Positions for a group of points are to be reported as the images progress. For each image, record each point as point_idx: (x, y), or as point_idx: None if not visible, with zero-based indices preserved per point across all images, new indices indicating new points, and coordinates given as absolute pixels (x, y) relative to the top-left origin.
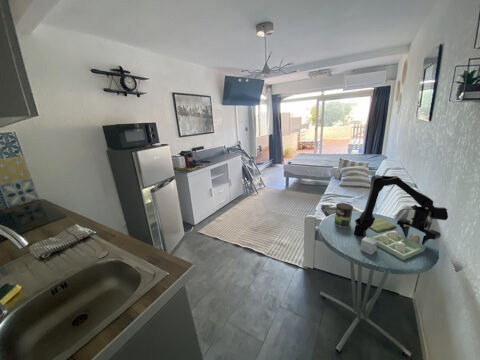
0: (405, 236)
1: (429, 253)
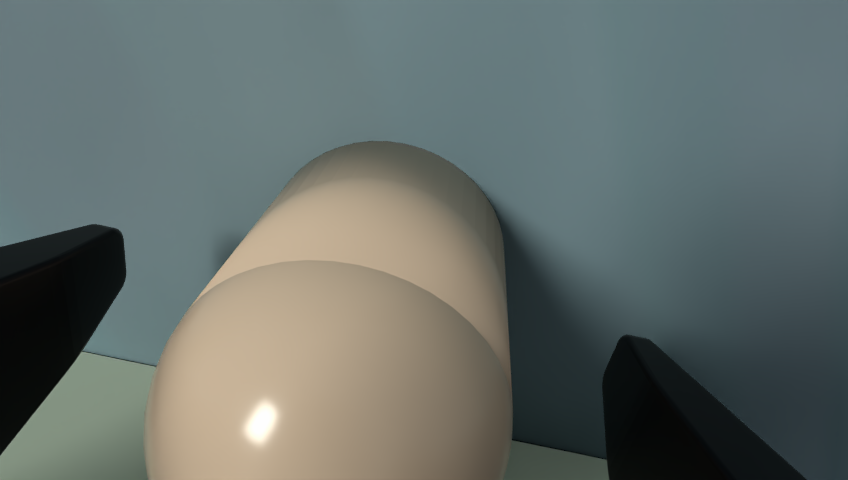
0: (83, 319)
1: (782, 443)
